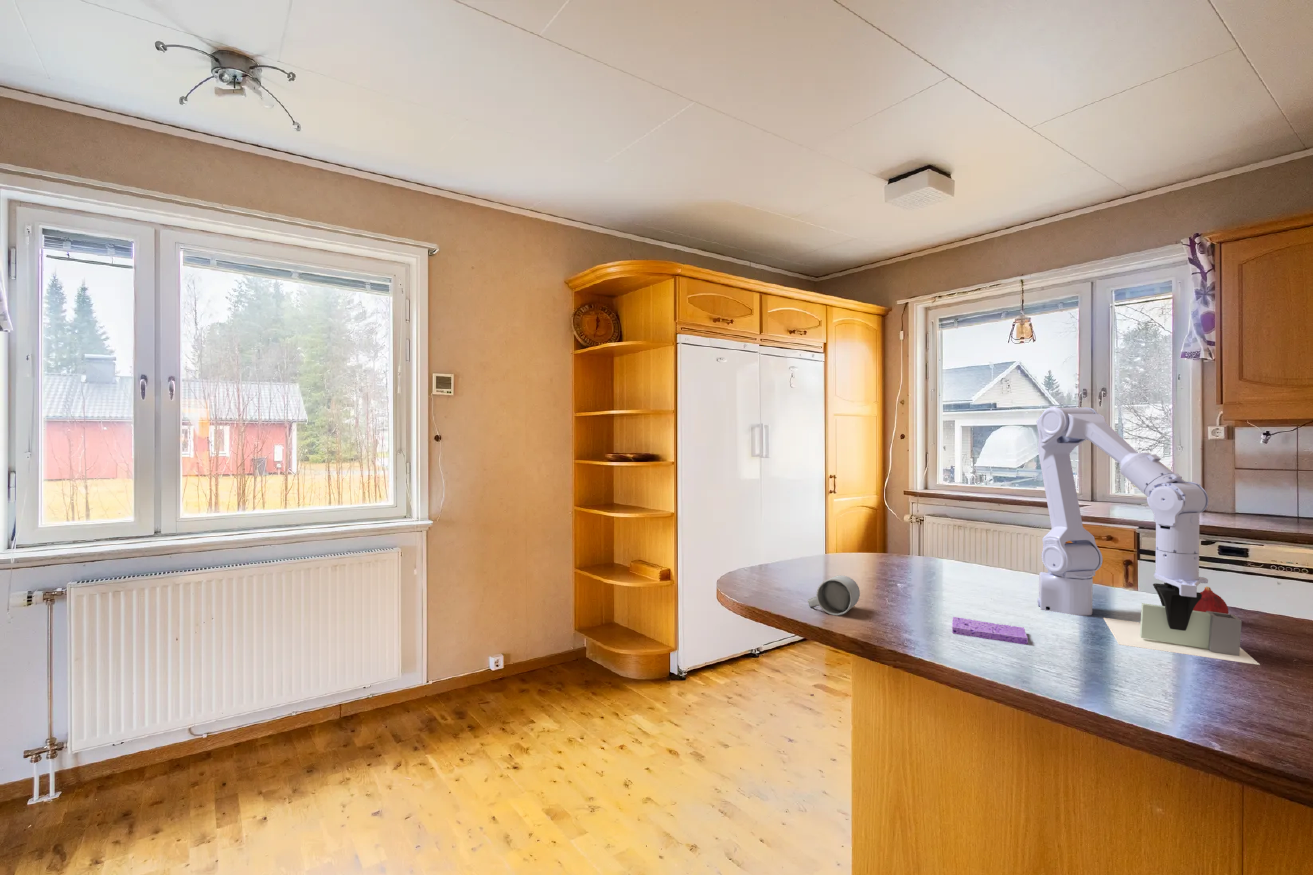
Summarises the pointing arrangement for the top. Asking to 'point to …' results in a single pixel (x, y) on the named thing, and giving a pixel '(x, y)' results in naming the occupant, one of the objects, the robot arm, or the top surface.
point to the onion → (1211, 602)
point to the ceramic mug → (836, 595)
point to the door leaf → (1194, 629)
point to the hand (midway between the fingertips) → (1176, 627)
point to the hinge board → (1130, 636)
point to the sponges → (989, 630)
